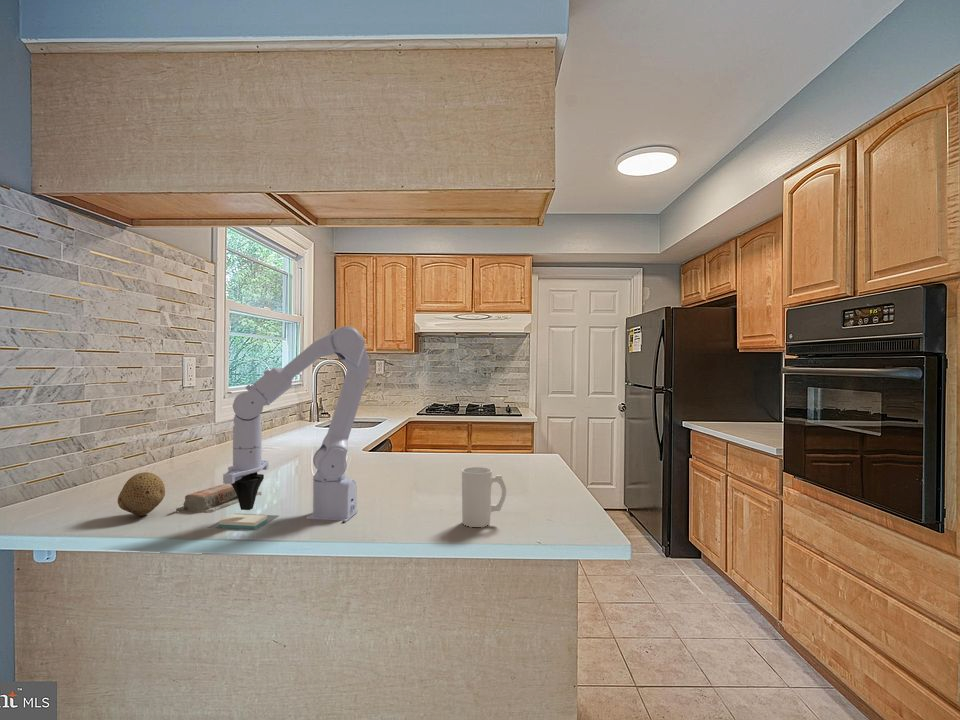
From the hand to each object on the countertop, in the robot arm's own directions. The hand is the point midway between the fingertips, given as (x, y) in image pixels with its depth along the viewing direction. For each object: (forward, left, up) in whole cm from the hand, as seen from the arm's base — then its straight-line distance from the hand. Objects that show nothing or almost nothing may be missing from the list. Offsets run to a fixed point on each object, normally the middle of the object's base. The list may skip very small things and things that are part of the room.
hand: (246, 509), depth 115 cm
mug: (-51, -9, -4) cm, 52 cm away
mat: (+1, -1, -4) cm, 4 cm away
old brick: (+16, -15, -4) cm, 22 cm away
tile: (0, -1, -2) cm, 3 cm away
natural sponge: (+27, -3, -4) cm, 27 cm away
